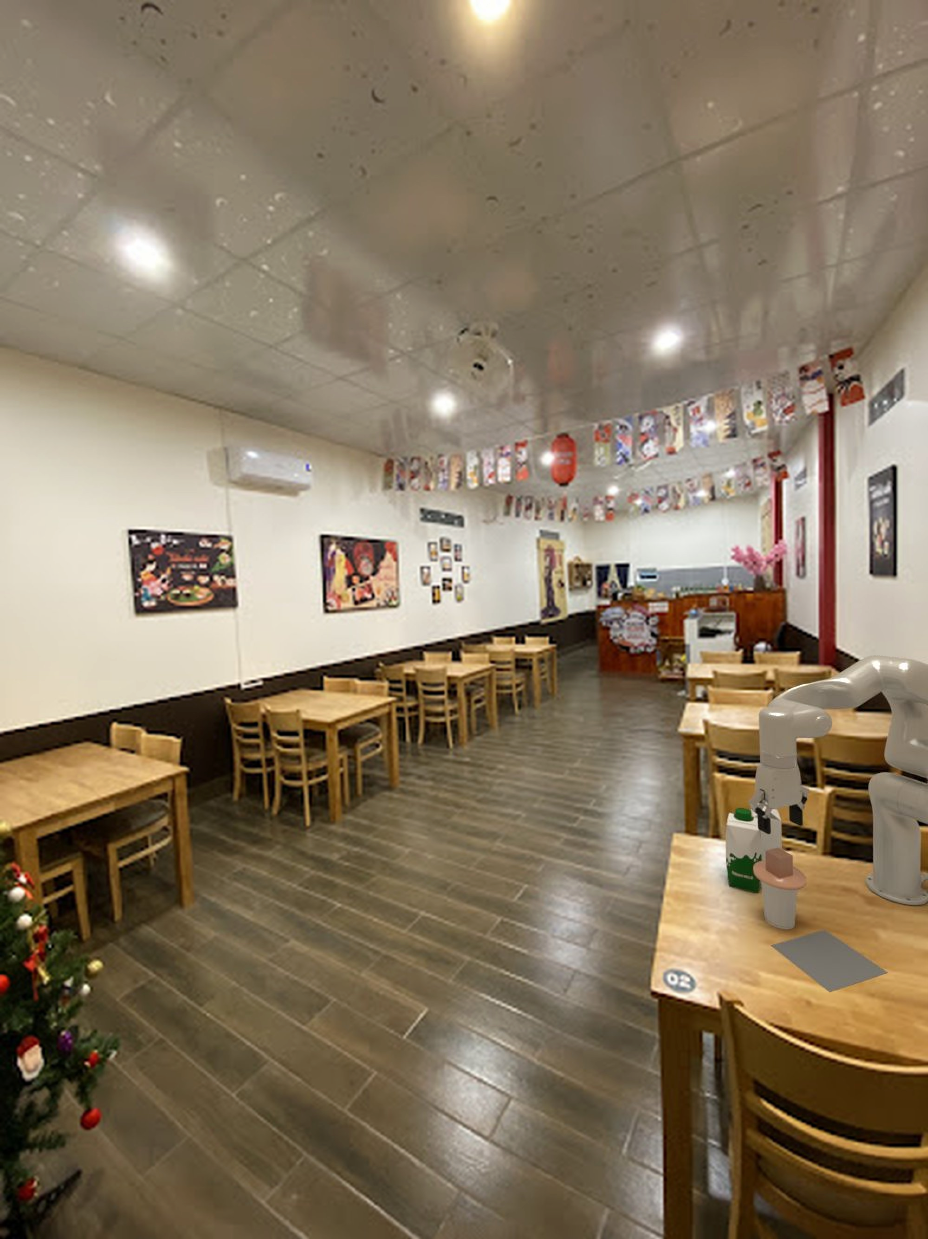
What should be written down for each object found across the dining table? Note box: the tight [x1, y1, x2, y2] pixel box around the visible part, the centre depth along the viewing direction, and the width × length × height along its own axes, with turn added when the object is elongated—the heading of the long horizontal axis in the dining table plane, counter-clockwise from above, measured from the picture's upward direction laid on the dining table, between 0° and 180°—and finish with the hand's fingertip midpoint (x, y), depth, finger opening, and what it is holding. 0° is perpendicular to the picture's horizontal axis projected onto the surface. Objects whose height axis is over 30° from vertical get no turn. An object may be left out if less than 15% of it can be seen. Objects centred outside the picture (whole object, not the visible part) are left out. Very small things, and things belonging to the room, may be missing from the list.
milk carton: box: [750, 802, 783, 861], centre depth 149 cm, size 7×7×19 cm
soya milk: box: [724, 807, 762, 894], centre depth 139 cm, size 9×9×20 cm
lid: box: [753, 848, 807, 891], centre depth 122 cm, size 11×11×6 cm
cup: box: [760, 881, 799, 930], centre depth 123 cm, size 8×8×12 cm
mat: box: [770, 929, 889, 993], centre depth 110 cm, size 16×14×1 cm
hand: (780, 827), depth 122 cm, fingers open, 9 cm apart
